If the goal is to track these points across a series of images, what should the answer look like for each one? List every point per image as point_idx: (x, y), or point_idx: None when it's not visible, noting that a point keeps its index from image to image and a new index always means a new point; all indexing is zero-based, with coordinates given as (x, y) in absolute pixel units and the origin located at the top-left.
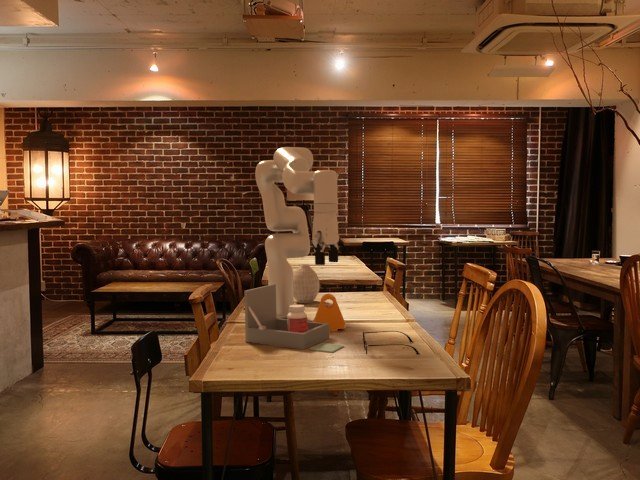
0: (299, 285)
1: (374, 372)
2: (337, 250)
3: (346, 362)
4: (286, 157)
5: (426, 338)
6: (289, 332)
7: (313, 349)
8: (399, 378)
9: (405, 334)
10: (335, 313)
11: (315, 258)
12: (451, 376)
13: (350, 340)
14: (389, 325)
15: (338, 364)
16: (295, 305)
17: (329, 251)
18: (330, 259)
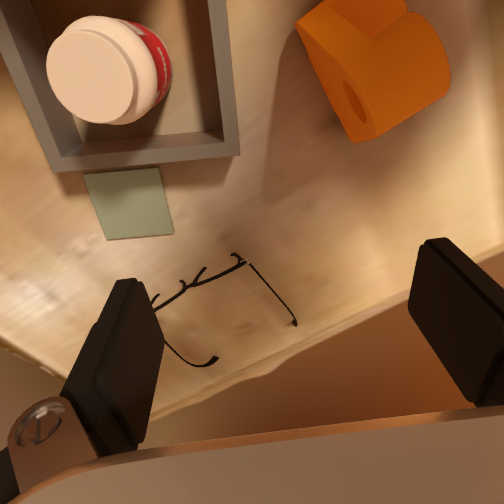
0: None
1: (68, 351)
2: (477, 406)
3: (74, 294)
4: None
5: (339, 330)
6: (27, 110)
7: (87, 187)
8: None
9: (295, 324)
10: (352, 121)
11: (99, 325)
12: None
13: (241, 212)
14: (459, 216)
15: (50, 290)
16: (93, 63)
17: (488, 327)
18: (428, 271)
